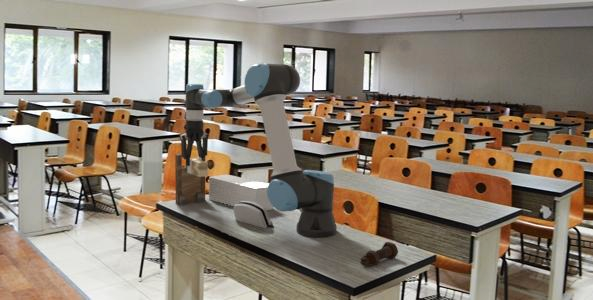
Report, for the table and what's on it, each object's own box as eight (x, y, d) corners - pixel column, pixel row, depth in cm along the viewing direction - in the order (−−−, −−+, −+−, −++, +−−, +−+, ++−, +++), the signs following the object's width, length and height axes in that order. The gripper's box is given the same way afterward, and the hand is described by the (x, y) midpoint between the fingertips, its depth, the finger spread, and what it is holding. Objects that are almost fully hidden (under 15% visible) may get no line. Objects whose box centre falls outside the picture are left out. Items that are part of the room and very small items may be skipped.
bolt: (361, 272, 169) (389, 260, 180) (373, 269, 166) (400, 256, 177) (354, 255, 171) (382, 243, 181) (365, 250, 167) (393, 239, 178)
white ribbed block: (208, 199, 252) (208, 177, 250) (226, 196, 259) (227, 174, 258) (255, 213, 230) (255, 188, 228) (273, 209, 238) (274, 185, 236)
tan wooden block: (207, 175, 235) (207, 162, 234) (199, 176, 232) (199, 163, 231) (193, 171, 244) (193, 158, 243) (185, 172, 241) (185, 158, 241)
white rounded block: (274, 225, 212) (268, 203, 208) (266, 232, 208) (260, 209, 205) (244, 217, 222) (238, 196, 218) (236, 223, 219) (230, 202, 215)
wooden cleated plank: (207, 200, 248) (207, 153, 245) (179, 205, 240) (179, 155, 236) (203, 199, 251) (203, 152, 248) (175, 203, 242) (175, 154, 239)
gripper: (207, 118, 244) (206, 169, 248) (172, 119, 233) (172, 173, 237) (216, 119, 239) (215, 172, 242) (181, 121, 228) (181, 175, 231)
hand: (194, 172), depth 239 cm, fingers closed on tan wooden block, 4 cm apart
